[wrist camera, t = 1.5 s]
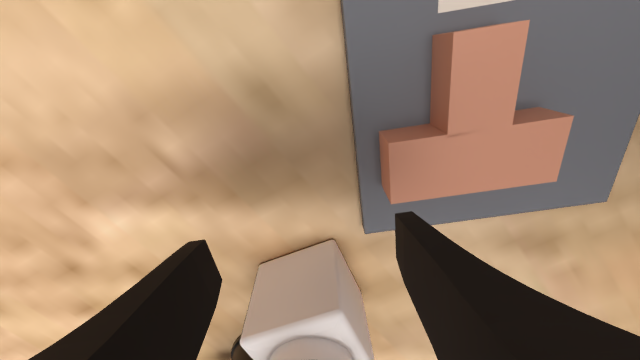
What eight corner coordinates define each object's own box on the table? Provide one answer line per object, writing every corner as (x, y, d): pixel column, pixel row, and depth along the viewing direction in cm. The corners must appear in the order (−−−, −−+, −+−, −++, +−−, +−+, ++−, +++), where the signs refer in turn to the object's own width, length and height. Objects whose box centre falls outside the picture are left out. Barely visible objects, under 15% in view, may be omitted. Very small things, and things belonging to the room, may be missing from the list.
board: (813, -443, 9) (867, -497, 8) (593, 195, 21) (607, 201, 20) (308, -323, 10) (308, -360, 9) (362, 226, 22) (364, 234, 21)
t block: (558, 13, 14) (602, 7, 12) (526, 165, 18) (556, 181, 16) (373, 44, 15) (384, 44, 13) (381, 185, 19) (390, 204, 17)
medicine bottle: (257, 263, 23) (208, 449, 12) (334, 236, 22) (353, 415, 11) (293, 314, 26) (278, 500, 15) (362, 292, 25) (398, 477, 14)
